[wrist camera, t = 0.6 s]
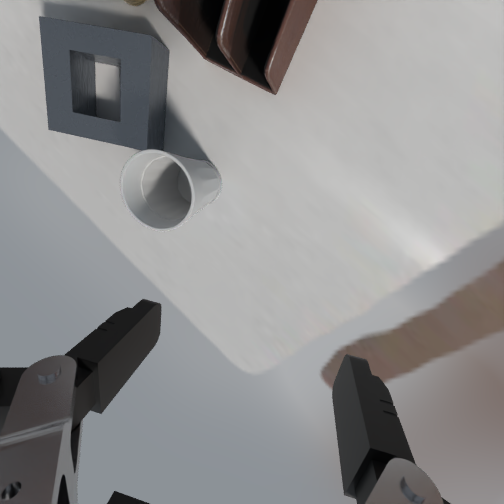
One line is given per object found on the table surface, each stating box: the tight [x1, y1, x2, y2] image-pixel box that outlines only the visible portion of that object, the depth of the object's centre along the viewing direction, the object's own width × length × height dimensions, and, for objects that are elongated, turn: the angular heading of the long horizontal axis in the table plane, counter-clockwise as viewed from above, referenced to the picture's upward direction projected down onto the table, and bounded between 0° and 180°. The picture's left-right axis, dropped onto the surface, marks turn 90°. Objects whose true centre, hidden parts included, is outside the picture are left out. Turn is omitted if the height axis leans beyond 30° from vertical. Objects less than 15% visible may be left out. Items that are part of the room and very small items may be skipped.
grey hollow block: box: [39, 16, 169, 151], centre depth 33 cm, size 12×14×4 cm
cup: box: [120, 149, 222, 231], centre depth 31 cm, size 8×8×12 cm
